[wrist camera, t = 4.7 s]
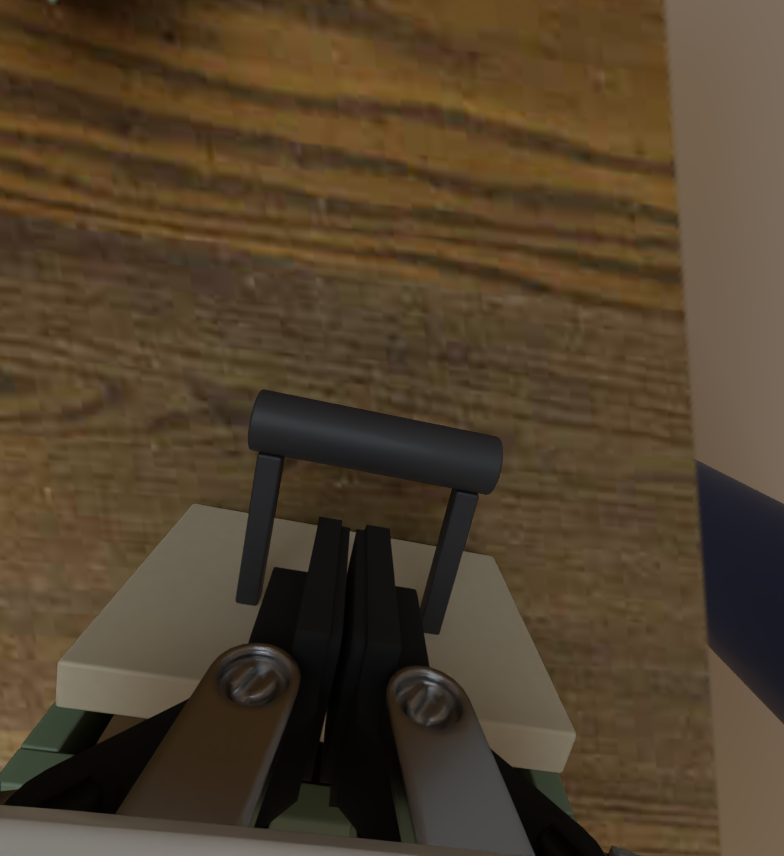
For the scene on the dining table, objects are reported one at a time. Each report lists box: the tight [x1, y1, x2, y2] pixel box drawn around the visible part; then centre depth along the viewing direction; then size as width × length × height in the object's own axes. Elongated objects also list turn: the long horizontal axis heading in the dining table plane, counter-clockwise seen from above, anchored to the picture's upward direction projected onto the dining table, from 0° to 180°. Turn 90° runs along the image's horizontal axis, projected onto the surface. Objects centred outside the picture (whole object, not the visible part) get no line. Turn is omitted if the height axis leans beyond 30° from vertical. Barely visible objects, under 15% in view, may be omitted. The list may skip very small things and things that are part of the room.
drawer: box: [56, 390, 576, 786], centre depth 15 cm, size 19×11×8 cm, turn 168°
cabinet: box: [0, 701, 577, 837], centre depth 16 cm, size 15×13×10 cm
